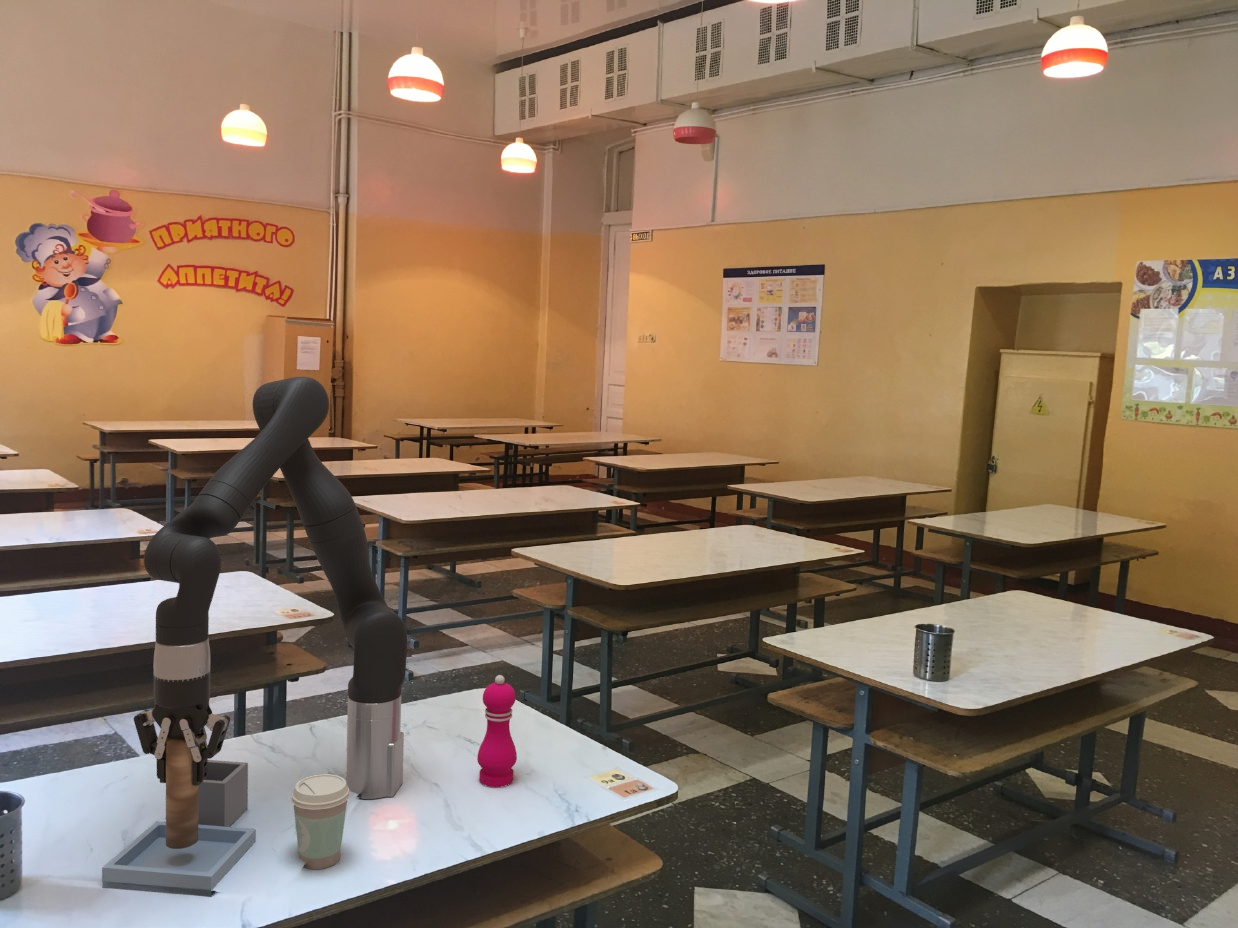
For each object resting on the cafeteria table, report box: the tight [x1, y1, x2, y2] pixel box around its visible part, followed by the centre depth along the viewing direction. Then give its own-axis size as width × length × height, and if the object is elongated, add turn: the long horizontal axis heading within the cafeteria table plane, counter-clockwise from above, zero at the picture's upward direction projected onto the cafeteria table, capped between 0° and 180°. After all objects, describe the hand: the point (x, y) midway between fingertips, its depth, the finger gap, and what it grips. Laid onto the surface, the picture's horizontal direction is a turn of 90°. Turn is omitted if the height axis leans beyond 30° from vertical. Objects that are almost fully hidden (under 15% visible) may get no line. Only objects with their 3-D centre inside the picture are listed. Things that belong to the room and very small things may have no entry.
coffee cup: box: [290, 773, 351, 870], centre depth 145 cm, size 9×8×12 cm
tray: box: [101, 820, 257, 898], centre depth 141 cm, size 16×14×3 cm
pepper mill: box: [476, 674, 518, 788], centre depth 175 cm, size 7×7×20 cm
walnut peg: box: [165, 736, 199, 849], centre depth 140 cm, size 4×4×16 cm
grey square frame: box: [198, 759, 249, 827], centre depth 154 cm, size 8×8×9 cm
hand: (181, 781), depth 140 cm, fingers closed on walnut peg, 4 cm apart
